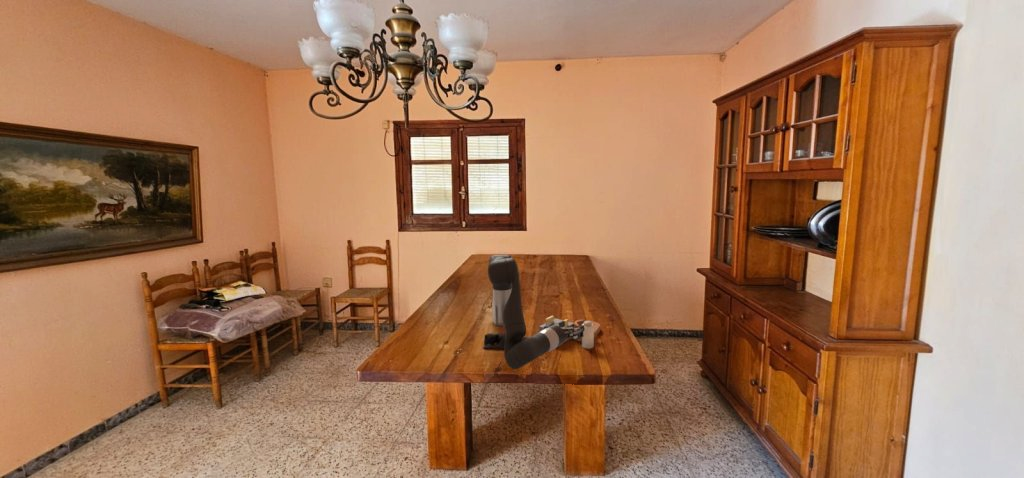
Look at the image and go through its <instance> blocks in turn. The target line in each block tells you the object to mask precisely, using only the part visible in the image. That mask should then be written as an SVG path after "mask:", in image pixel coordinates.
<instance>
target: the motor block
mask: <svg viewBox="0 0 1024 478" xmlns="http://www.w3.org/2000/svg"><path fill="white" fill-rule="evenodd" d="M561 321H565V326H564V327H566V328H569V327H573V328H574V322H573V321H572V322H571V321H569V318H565V319H564V320H563V319H560V318H555V316H554V315H550V316H548V317H546V318H545V322H544V323H543V324H541V325H539V326H538V327H539V329H538V331H539V332H540V331H541V330H543V329H544V326H545V325H547V324H549V323H551V322H553V324H555V323H559V322H561ZM570 334H571V330H570ZM570 339H572V338H568V339H565V341H564V343H566V342H567V341H569V340H570Z"/></svg>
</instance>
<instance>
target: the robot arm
mask: <svg viewBox="0 0 1024 478" xmlns="http://www.w3.org/2000/svg"><path fill="white" fill-rule="evenodd" d="M487 276H488V279H489V282H490V283H491V285H492V305H491V307H492V323H494V325H495V326H502V327H504V332H505V333H504V334H506V336H505V347H504V350H503V354H504V360H505V362H506V364H507V366H508V367H509V368H511V369H512V370H519V369H521V368H523V367H524V366H526V365H528V364H529V363H531V362H532V361H534V360H536V359H537V358H539V357H541V356H543V355H545V354H547V353H549V352H551V351H553V350H555V349H557V348H558V347H560V346H561V345H563V344H564V343H565V342H564V341H565V339H568V338H571V339H572V341H573V342H575V341H577V340H578V339H580V338H582V337H583V336H584V331H585V327H584V325H581V326H580V327H578V328H573V327H569V328H566V327H564V326H565V321H561V322H559V323H555V324H553V322H551V323H549V324H547V325H545V326H544V329H543V330H541V331H540V332H537V333H535V334H534V335H531V336H529V337H530V338H527V339H524V340H522V339H523V337H526V335H527V328H526V327H527V326H526V322H525V316H524V313H523V304H522V302H523V301H522V290H521V289H522V288H521V280H520V273H519V268H518V263H517V261H516V259H515V258H513V257H512V256H511V255H510V254H494V255H493V254H492V255H491V256H490V257H489V259H488V265H487ZM570 330H571V334H570ZM576 330H577V332H574V331H576Z"/></svg>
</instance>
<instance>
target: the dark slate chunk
mask: <svg viewBox="0 0 1024 478" xmlns="http://www.w3.org/2000/svg"><path fill="white" fill-rule="evenodd" d="M505 336H506V333H500V332H499V333H494V332H493V333H486V334H484V341H483V347H482V348H484V349H485V350H489V349H490V350H500V351H501V350H502V351H504V347H505ZM530 337H531V336H524V337H523V339H522V340H524V339H527V338H530ZM496 344H497V345H496Z"/></svg>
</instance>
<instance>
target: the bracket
mask: <svg viewBox="0 0 1024 478" xmlns="http://www.w3.org/2000/svg"><path fill="white" fill-rule="evenodd" d="M584 321H585V319H577V320H575V321H574V322H573V323H574V328H578V327H580V326H581V325H582V324H584ZM586 321H591V322H592V324H593V325H594V339H595V338H596V337H597V336H598V335H599V333H600V332H601V324H600V323H599V322H597V321H592V320H589V319H587V320H586ZM574 332H577V330H576V331H574ZM576 341H578V342H581V343H582V338H580V339H578V340H576Z"/></svg>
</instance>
